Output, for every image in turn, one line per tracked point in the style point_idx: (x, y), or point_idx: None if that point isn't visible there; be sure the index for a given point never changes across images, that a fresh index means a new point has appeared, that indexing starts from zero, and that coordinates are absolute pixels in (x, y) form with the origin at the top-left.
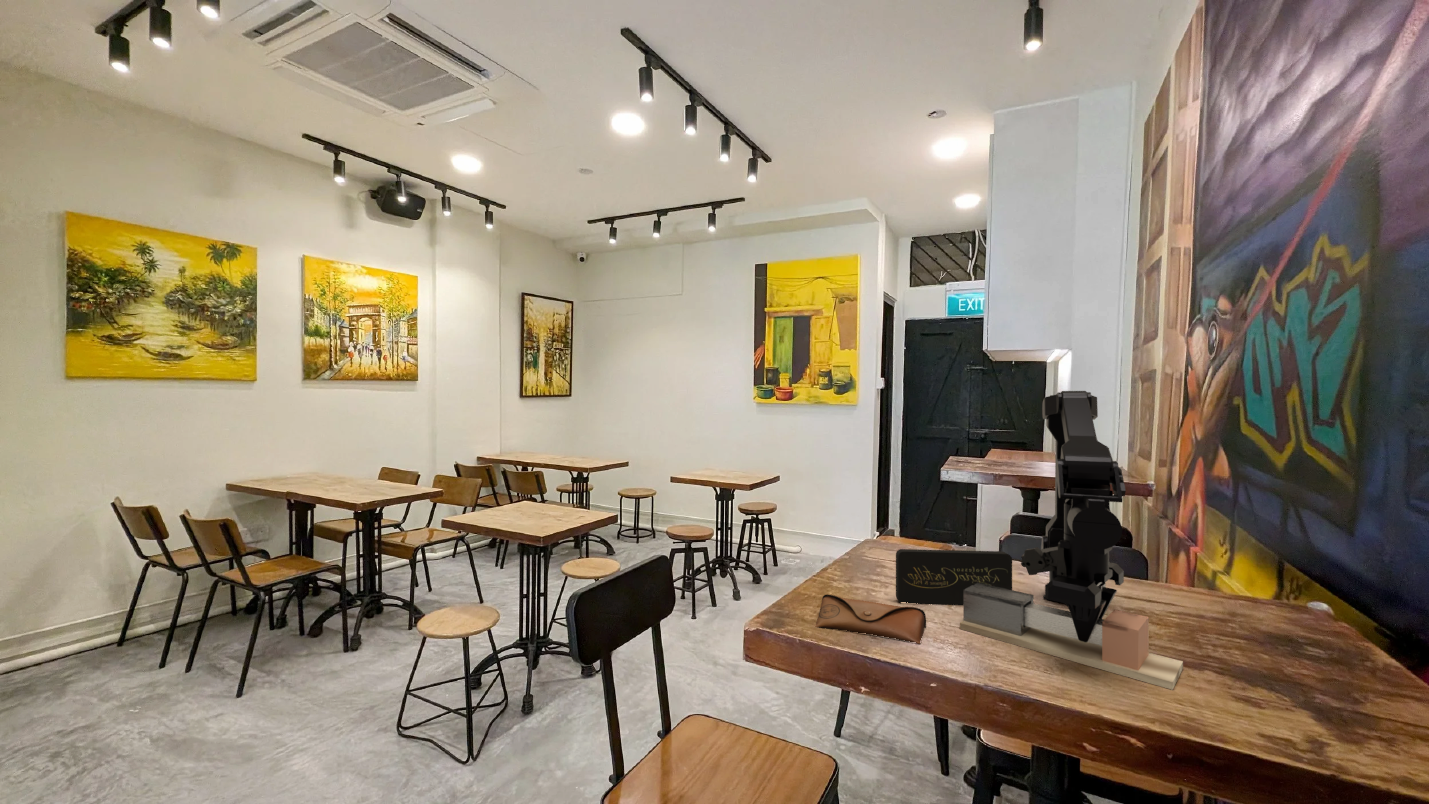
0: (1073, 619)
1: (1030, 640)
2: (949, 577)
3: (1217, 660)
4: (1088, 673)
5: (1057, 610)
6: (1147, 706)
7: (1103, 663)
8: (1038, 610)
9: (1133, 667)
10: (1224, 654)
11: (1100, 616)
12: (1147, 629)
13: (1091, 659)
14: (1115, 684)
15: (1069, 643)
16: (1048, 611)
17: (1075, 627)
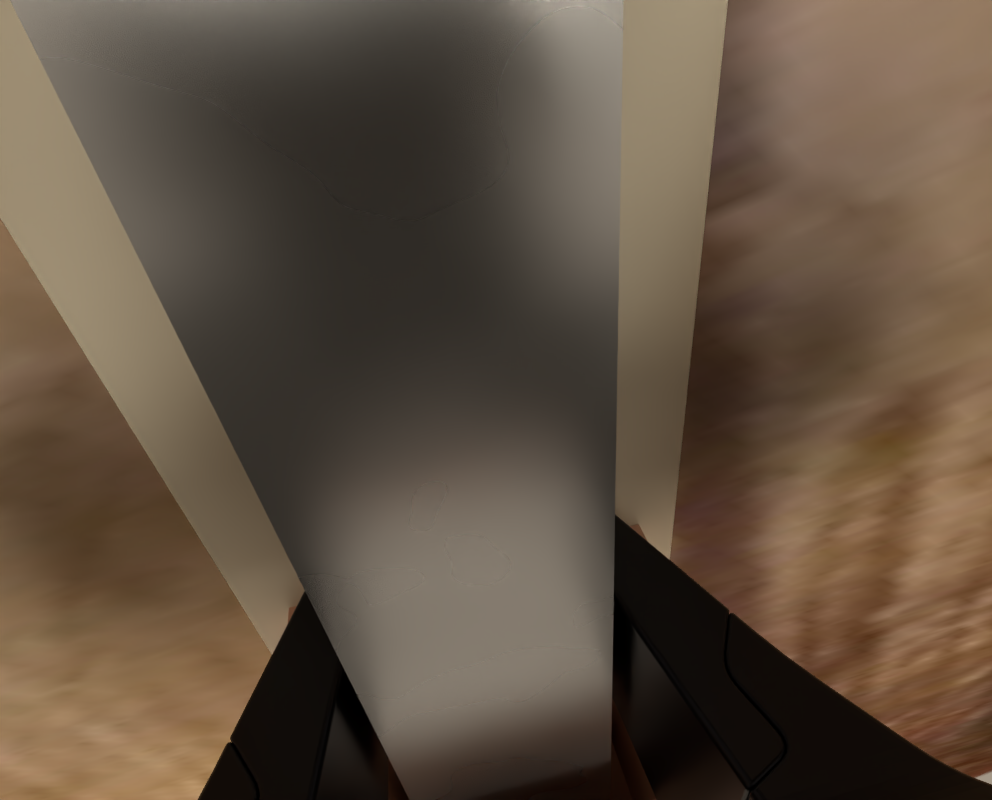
0: (232, 747)
1: (16, 98)
2: None
3: (835, 659)
4: (103, 578)
5: (511, 450)
6: (51, 791)
7: (255, 622)
8: (146, 262)
9: None
10: (922, 642)
11: (631, 740)
12: None
13: (230, 581)
14: (129, 676)
15: None
16: (304, 406)
17: (280, 643)
